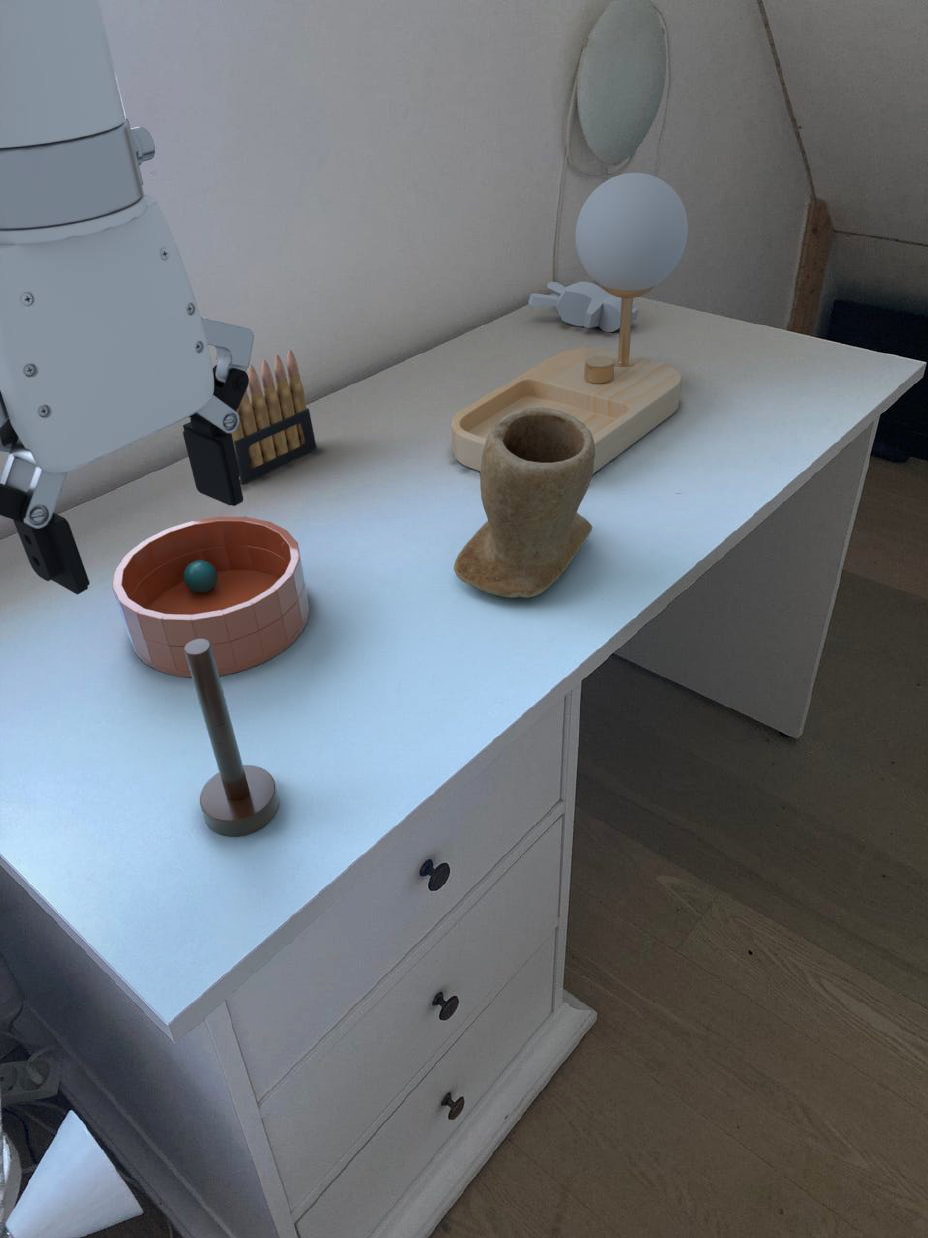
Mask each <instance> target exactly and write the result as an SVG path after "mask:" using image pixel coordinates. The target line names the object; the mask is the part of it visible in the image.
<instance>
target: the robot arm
mask: <svg viewBox="0 0 928 1238" xmlns="http://www.w3.org/2000/svg"><path fill="white" fill-rule="evenodd" d="M118 82H119V81H118V78H117V73H116V70H115V64H114V60H113V56H112V52H111V48H110V44H109V39H108V35H107V30H106V27H105V22H104V18H103V13H102V9H101V4H100V1H99V0H0V452H1V453H8V455H7V458H6V460H5V463H4V466H3V468H2V473H1V475H0V516H1V517H3V518H4V517H5V518H7V519H11V520H12V521H13V523H14V526H15V529H16V531H17V535H18V537H19V539H20V542H21V544H22V547H23V549H24V552H25V554H26V557H27V559H28V562H29V564H30V566H31V568H32V570H33V571H34V573H35V574H36V575H37V576H38V577H39V578H41V579H42V580H44V581H46V582H50V581H52V582H54V583H56V584H57V585H60V586H61V587H63V588H65V589H66V590H68V591H70V592H72V593H73V594H76V595H80V594H81V593H83V592H85V591H87V590H88V589H89V586H90V585H91V583H90V580H89V577H88V573H87V571H86V569H85V565H84V562H83V559H82V557H81V554H80V551H79V548H78V546H77V543H76V539H75V537H74V534H73V532H72V528H71V525H70V523H69V522H68V520H67V519H66V518H65V517H64V516H61V515H60V514H58V513H56V512H55V509H56V508H57V507H56V506H57V504H58V500H59V499H60V495H61V492H62V490H63V486H64V484H65V481H66V478H67V475H68V473H69V472H72V471H75V470H78V469H81V468H83V467H85V466H87V465H90V464H92V463H94V462H96V461H99V460H101V459H103V458H105V457H108V456H109V455H112V454H114V453H116V452H118V451H121V450H123V449H125V448H127V447H129V446H131V445H134V444H136V443H137V442H140V441H141V440H144V439H146V438H149V437H150V436H152V435H154V434H156V433H159V432H161V431H163V430H165V429H167V428H169V427H171V426H173V425H175V424H178V423H179V422H182V421H184V420H185V419H189V420H190V421H189V422H187V423H184V424H183V425H182V428H183V431H182V436H183V439H184V443H185V448H186V452H187V456H188V460H189V464H190V468H191V472H192V476H193V480H194V484H195V488H196V490H197V492H199V493H200V494H202V495H204V496H207V497H209V498H211V499H214V500H216V501H218V502H220V503H223V504H225V505H228V506H232V507H236V506H238V505H239V504H241V503H243V502H244V494H243V490H242V486H241V483H240V480H239V477H240V471H239V467H238V462H237V457H236V452H235V448H234V443H233V438H232V434H231V433H232V432H234V431H235V430H236V429H237V428H238V426H239V421H240V419H239V415H238V413H237V410H238V407H239V405H240V403H241V401H242V398H243V396H244V394H245V392H246V389H247V390H248V387H249V377H248V372H247V369H249V367H250V363H251V359H252V351H253V346H254V341H255V335H254V332H253V331H252V329H250V328H248V327H245V326H240V325H237V324H234V323H230V322H226V321H222V320H221V321H220V320H217V319H212V318H209V317H204V316H201V313H200V311H199V307H198V304H197V303H198V302H197V300H196V297H195V293H194V291H193V288H192V284H191V281H190V278H189V275H188V272H187V269H186V266H185V264H184V262H183V261H184V260H183V259H182V256H181V252H180V251H179V248H178V245H177V242H176V241H175V239H174V236H173V233H172V231H171V229H170V227H169V224H168V221H167V220H166V217H165V215H164V213H163V212H162V209H161V207H160V205H159V203H158V201H157V199H156V198H154V197H153V196H151V195H147V194H145V193H144V189H143V186H144V181H143V176H142V172H141V168H140V166H142V163H144V162H147V161H151V160H153V159H154V158H155V154H156V147H155V146H156V145H155V142H154V139H153V137H152V135H151V133H150V132H149V131H148V129H147V128H145V127H143V126H137V127H133V128H131V126H130V121H129V119H128V118H127V117H126V111H125V108H124V103H123V99H122V95H121V91H120V87H119V86H120V85H119V83H118ZM209 346H212V347H214V348H215V350H216V357H215V361H217V363H216V365H214V366H213V363H212V362H213V361H212V358H211V357H212V356H211V353H210V348H209Z"/></svg>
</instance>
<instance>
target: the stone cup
mask: <svg viewBox="0 0 928 1238" xmlns="http://www.w3.org/2000/svg"><path fill="white" fill-rule="evenodd" d="M594 458H595V445H594V439H593V436H592V434H591V431H590V430H589V429H588V428H587V427H586V426H585V425H584V423H582V422H581V421H579V420H578V419H577V418H576V417H574V416H572V415H570V414H568V413H566V412H563V411H560V410H556V409H551V408H544V407H538V408H526V409H521V410H517V411H514V412H511V413H509V414H508V415H506V416H505V417H503V418H502V419H500V420H499V421H498V422H497V423H496V424H495V425H494V427H493V428H492V429H491V431H490V433H489V435H488V437H487V440H486V443H485V446H484V448H483V454H482V462H481V472H480V471H479V472H480V474H479V480H480V481H479V482H480V484H479V487H480V496H481V497H480V498H481V502H482V506H483V510H484V513H485V515H486V518H487V521H486V522H485V523H484V524H483V525H482V526H481V527H480V528H479V529H478V531H476V532H475V533H474V535H472V537H471V538H470V539H469V541H468V542H467V543H466V544H465V545H464V546H463V547H462V549H461V551H460V552H459V553H458V555H457V557H456V558H455V561H454V565H453V571H454V574H455V576H456V577H457V578H458V579H459V580H460V581H461V582H463V583H465V585H468V586H469V587H472V588H473V589H477V590H479V591H481V592H483V593H486V594H490V595H493V596H494V595H495V596H499V597H503V598H511V599H515V598H525V599H529V598H533V597H536V596H539V595H541V594H542V593H544V592H545V591H547V589H549V588H550V587H551V586H552V585H553V584H554V583H555V582H556V581H557V580H559V578H560V577H561V576H562V574H563V573H564V572H565V571H566V569H568V567H569V565H570V563H571V562H572V561H573V560H574V558H575V557H576V555H577V554H578V552H579V551H580V549H581V548H582V546H583V545H584V543H585V542H586V541H587V539H588V537H589V536H590V534H591V533H592V530H593V526H592V523H590V522H589V521H588V519H587V518H586V517H585V516H582V515H580V513H578V510H579V509H580V508H579V507H580V506H581V504H582V502H583V500H584V498H585V495H586V493H587V491H588V490H589V487H590V484H591V481H592V478H593V475H594V474H593V469H594Z"/></svg>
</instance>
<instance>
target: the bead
mask: <svg viewBox="0 0 928 1238" xmlns="http://www.w3.org/2000/svg"><path fill="white" fill-rule="evenodd" d="M183 578H184V582H185V584H186V586H187V587H188V588H189V589H190V590H191V591H193V592H196V593H206V592H208V591H210V590H211V589H213V588H214V586H215V585H216V583H217V579H218V575H217V571H216V569H215V568H214V566H213V565H212V564H210V563H209V562H207V561H203V560H198V561H194V562H192V563H190V564H189V565H188V566H187V567H186V569H185V571H184V575H183Z"/></svg>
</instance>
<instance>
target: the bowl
mask: <svg viewBox="0 0 928 1238" xmlns="http://www.w3.org/2000/svg"><path fill="white" fill-rule="evenodd" d="M299 547H300V546H299V542H298V541H297V540H296V539H295V538H294V537H293V535H292V534H291V533H290V532H289V531H288V530H287V529H285V528H283V527H281V526H279V525H277V524H275V523H274V522H272V521H268V520H263V519H259V518H253V517H249V516H248V517H247V516H216V517H215V516H214V517H209V518H201V519H195V520H191V521H188V522H184V523H181V524H178V525H174V526H171V527H168V528H166V529H164V530H161V531H160V532H157V533H155V534H153V535H151V536H149V537H147V538H146V539H145V538H144V539H143V540H142V541H140V543H138V544H137V545H136V546H135V547H133V548H132V549H131V550H130V551H128V553H126V554H125V555H124V556H123V558H122V559H121V561H120V562H119V564H118V565H117V567H116V568H115V570H114V571H113V579H112V585H111V588H112V591H113V595H114V598H115V600H116V605H117V606H118V610H119V613H120V616H121V619H122V622H123V624H124V625H123V626H124V628H125V631H126V634H127V636H128V637H127V638H128V639H129V641H130V644H131V646H132V649H133V651H134V653H135V654H136V656H137V657H138V658H139V659H140V660H141V662H143V663H144V664H146V665H147V666H148V667H150V668H151V669H154V670H156V671H158V672H160V673H164V674H168V675H172V676H177V677H183V678H192V676H191V672H190V669H189V665H188V662H187V658H186V655H185V651H184V648H185V646H186V644H187V643H189V642H190V641H192V640H195V639H206V640H208V641H209V642H210V643H211V647H212V651H213V655H214V658H215V662H216V666H217V670H218V673H219V677H221V676H227V675H231V674H234V673H238V672H242V671H245V670H248V669H251V668H254V667H256V666H258V665H261V664H263V663H265V662H267V661H269V660H271V659H273V658H275V657H276V656H277V655H279V654H281V653H283V652H284V651H285V650H286V649H287V648H289V647H290V646H291V645H293V643H294V642H295V641H296V640H297V639H298V638H299V636H300V635H301V633H303V631H304V629H305V627H306V625H307V623H308V619H309V614H310V605H309V598H308V592H307V586H306V580H305V575H304V568H303V563H302V558H301V553H300V548H299ZM198 560H203V561H207V562H209V563H210V564H212V565H213V566H214V568H215V569H216V571H217V575H218V579H217V583H216V585H215V586H214V588H213V589H211V590H210V591H208V592H206V593H196V592H193V591H191V590H190V589H189V588H188V587H187V586H186V584H185V582H184V578H183V575H184V571H185V569H186V567H187V566H188V565H189V564H190V563H192V562H194V561H198Z"/></svg>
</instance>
